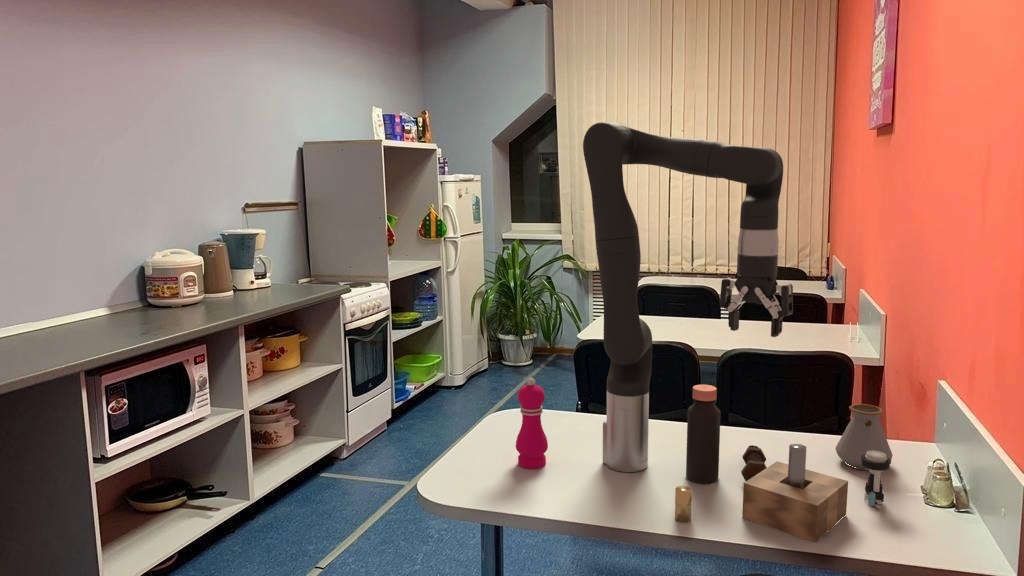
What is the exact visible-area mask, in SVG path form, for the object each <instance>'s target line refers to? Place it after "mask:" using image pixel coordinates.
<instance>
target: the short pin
mask: <svg viewBox="0 0 1024 576" xmlns="http://www.w3.org/2000/svg"><path fill="white" fill-rule="evenodd" d="M692 494H693V489H692V488H691V487H689V486H687V485H678V486H676V487H675V494H674V495H675V496H674V499H675V500H674V502H675V503H674V520H675V521H676V522H677V523H678V522H679V523H681V524H682V523H683V524H685V523H686V524H687V523H689V522H691V521H692V500H693V498H692V497H693V496H692Z"/></svg>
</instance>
